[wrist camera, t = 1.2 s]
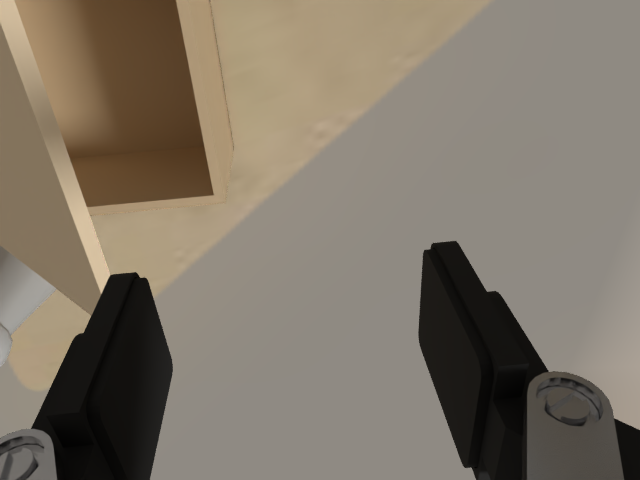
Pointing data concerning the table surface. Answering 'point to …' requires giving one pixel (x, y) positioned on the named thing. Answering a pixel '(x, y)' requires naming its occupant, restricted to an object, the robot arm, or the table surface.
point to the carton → (135, 99)
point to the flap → (41, 179)
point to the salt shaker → (17, 297)
